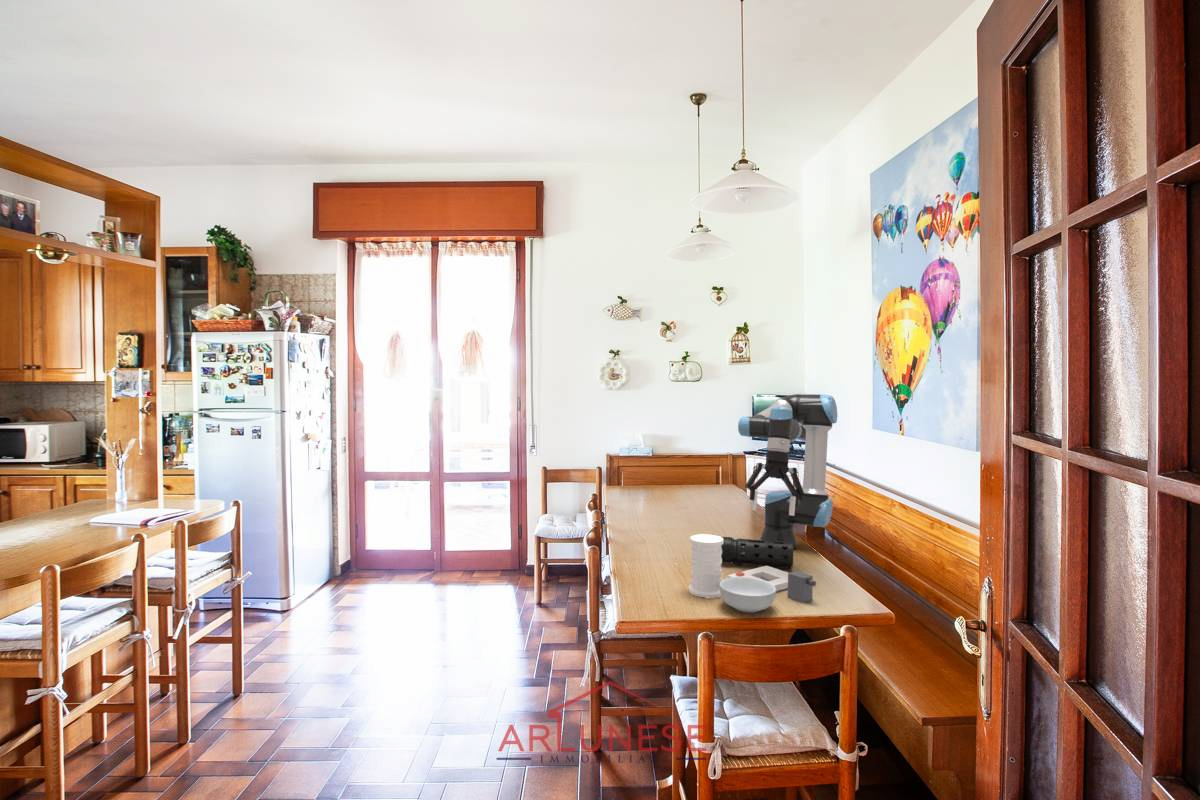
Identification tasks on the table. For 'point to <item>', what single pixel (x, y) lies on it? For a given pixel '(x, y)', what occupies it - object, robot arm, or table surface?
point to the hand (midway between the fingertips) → (772, 513)
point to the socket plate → (767, 576)
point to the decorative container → (706, 565)
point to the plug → (800, 586)
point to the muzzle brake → (757, 552)
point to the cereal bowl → (747, 593)
